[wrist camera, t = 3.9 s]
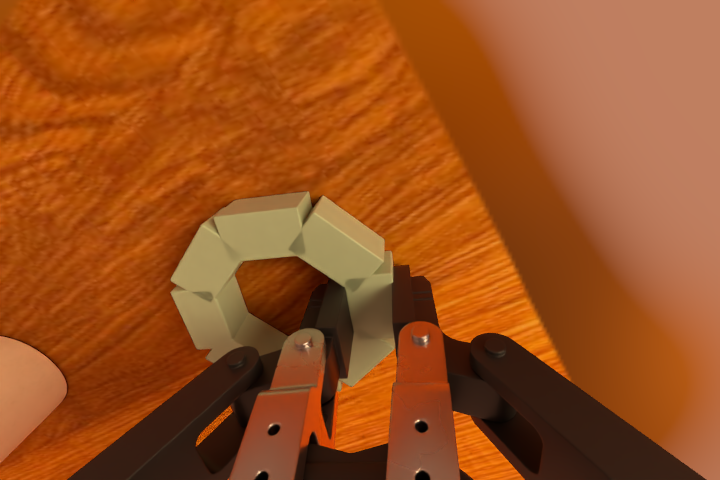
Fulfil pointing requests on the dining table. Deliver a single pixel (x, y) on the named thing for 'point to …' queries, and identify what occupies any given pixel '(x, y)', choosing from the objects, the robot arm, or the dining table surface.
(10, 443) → the candle
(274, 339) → the ring
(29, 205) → the dining table surface
